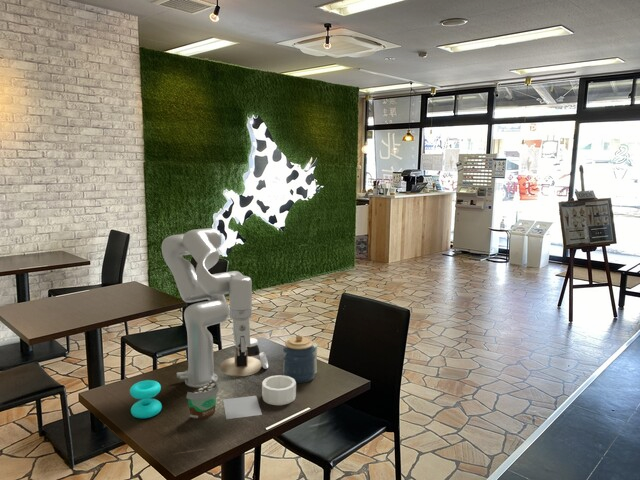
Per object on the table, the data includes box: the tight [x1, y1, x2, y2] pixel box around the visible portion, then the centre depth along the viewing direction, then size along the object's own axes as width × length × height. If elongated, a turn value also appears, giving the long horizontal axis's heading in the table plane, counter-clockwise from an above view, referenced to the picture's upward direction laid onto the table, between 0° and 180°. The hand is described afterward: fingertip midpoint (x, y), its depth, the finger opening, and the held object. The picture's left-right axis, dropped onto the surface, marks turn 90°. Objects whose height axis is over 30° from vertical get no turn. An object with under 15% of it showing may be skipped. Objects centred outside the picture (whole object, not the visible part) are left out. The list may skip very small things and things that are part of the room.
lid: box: [220, 345, 262, 377], centre depth 166 cm, size 14×14×7 cm
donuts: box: [129, 379, 163, 419], centre depth 164 cm, size 10×10×10 cm
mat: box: [222, 395, 263, 420], centre depth 168 cm, size 12×14×1 cm
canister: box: [282, 334, 316, 384], centre depth 192 cm, size 13×13×18 cm
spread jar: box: [246, 337, 269, 370], centre depth 201 cm, size 12×11×12 cm
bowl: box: [261, 374, 297, 406], centre depth 176 cm, size 12×12×6 cm
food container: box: [185, 380, 219, 420], centre depth 163 cm, size 12×6×10 cm, turn 148°
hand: (240, 362), depth 166 cm, fingers closed on lid, 4 cm apart
